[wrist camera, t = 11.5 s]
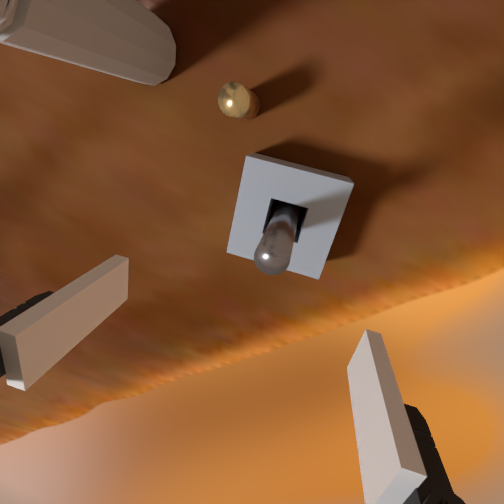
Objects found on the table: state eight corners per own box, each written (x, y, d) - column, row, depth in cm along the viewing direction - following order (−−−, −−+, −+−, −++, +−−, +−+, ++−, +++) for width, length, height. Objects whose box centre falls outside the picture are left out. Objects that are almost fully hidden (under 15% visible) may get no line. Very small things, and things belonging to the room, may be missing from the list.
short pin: (238, 88, 34) (220, 78, 27) (263, 94, 34) (251, 85, 27) (233, 116, 35) (215, 112, 29) (257, 122, 35) (244, 119, 28)
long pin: (280, 196, 38) (258, 237, 23) (302, 202, 37) (294, 247, 23) (274, 218, 39) (250, 269, 24) (296, 224, 39) (284, 279, 24)
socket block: (254, 152, 36) (246, 155, 32) (349, 177, 35) (354, 183, 30) (236, 239, 41) (226, 252, 37) (318, 262, 40) (318, 279, 35)
